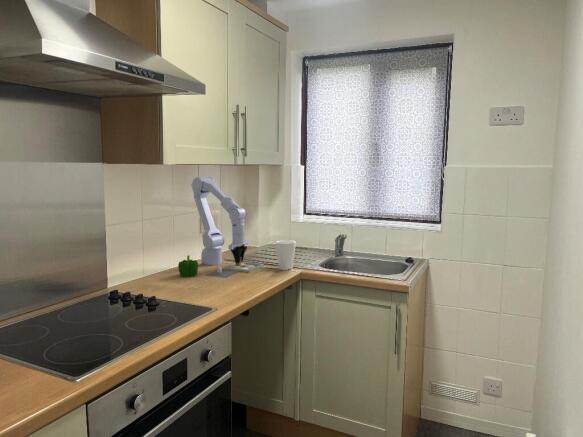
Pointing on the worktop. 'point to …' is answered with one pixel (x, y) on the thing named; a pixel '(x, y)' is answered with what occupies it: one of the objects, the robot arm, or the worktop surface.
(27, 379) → the worktop surface
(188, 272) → the bell pepper
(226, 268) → the tray
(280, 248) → the foam cup
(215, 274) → the stake board
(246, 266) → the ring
